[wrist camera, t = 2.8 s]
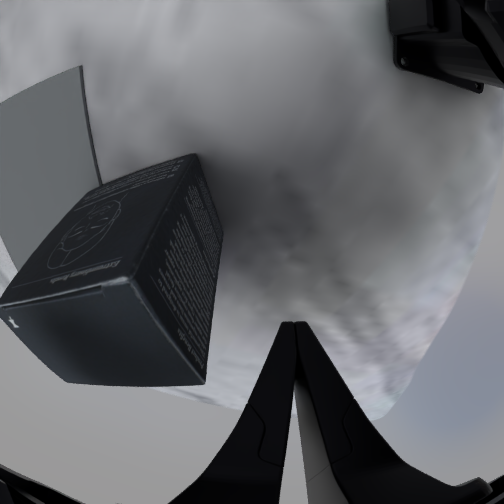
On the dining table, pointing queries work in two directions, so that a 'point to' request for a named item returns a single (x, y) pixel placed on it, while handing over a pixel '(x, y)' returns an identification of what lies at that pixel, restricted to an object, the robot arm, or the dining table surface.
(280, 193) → the dining table surface
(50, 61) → the dining table surface
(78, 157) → the mat
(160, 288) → the box
